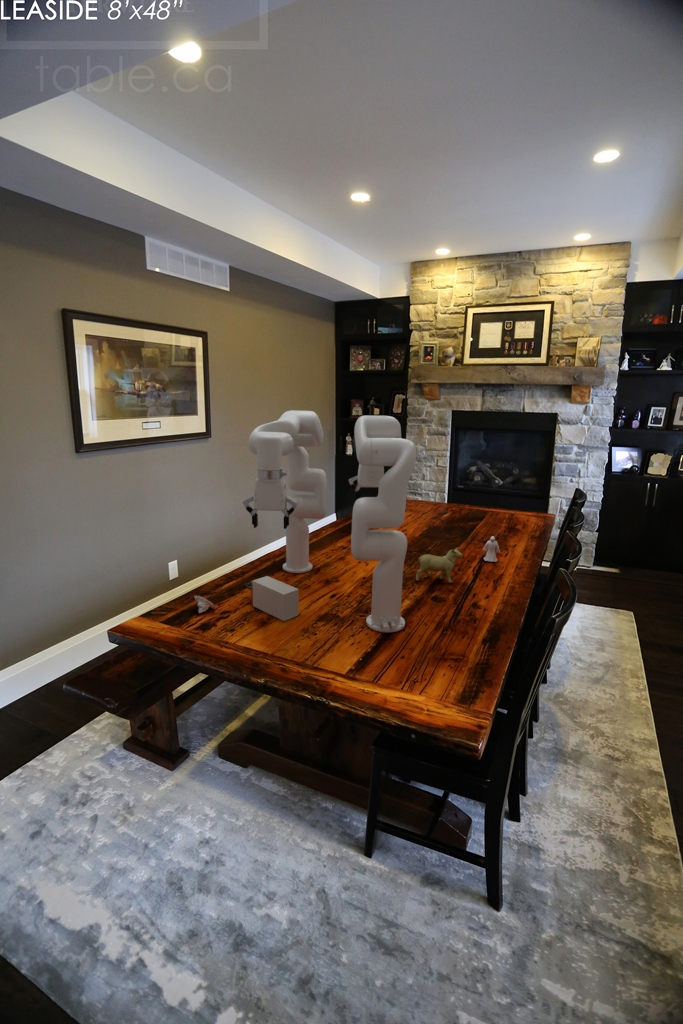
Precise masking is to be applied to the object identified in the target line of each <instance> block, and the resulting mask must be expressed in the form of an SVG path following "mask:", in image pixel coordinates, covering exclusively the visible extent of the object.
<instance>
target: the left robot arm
mask: <svg viewBox="0 0 683 1024" xmlns="http://www.w3.org/2000/svg"><path fill="white" fill-rule="evenodd" d="M320 419H321V418H319V415H318V414H317V413H316V412H315V411H312V410H295V409H294V410H287V411H285V412H283V413H282V414H281V415H280V417H279V418H278V419H277V420H275V421H271V422H269V423H267V422H266V423H264V424H261V425H259V426H256V427H255V428H254V429H253V430H252V432H251V433H250V435H249V438H248V443H247V444H248V449H249V451H250V453H252V454H253V455H254V456H255V455H256V456H257V477H256V478H255V480H254V481H255V482H254V490H253V496H251V497H249V498H247V499H245V500H243V501H242V505H243V506H244V508H245V510H246V511H247V512H248V513H249V514H250V516H251V525H253V529H256V528H257V527H258V525H259V515H258V511H269V512H270V511H271V512H281V513H282V514H283V515H284V516H283V529H284V530H285V551H286V552H285V554H286V555H285V563H283V564H282V570H283V571H285V572H287V573H291V574H303V573H307V572H310V571H311V570H313V567H314V566H313V564H312V562H310V527H309V524H308V522H307V521H306V520H305V519H310V520H311V519H313V520H315V519H316V520H319V519H324V517H325V516H326V514H327V504H328V503H327V501H328V500H327V499H328V498H327V497H328V477H327V473H326V472H325V470H324V469H323V468H310V456H309V453H308V451H307V450H306V448H318V447H319V448H320V447H321V446H322V445H323V443H324V438H325V437H324V436H325V434H324V430H323V426H322V422H321V420H320ZM286 456H287V470H286V471H285V470H284V469H283V457H286ZM284 477H287V484H286V479H285V478H284ZM287 487H288V489H289V490H291V491H292V492H305V493H314V495H313V494H290V495H288V494H287V493H288V491H287ZM252 502H253V507H252V506H251V505H250V503H252Z"/></svg>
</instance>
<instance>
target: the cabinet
mask: <svg viewBox="0 0 683 1024" xmlns="http://www.w3.org/2000/svg"><path fill="white" fill-rule="evenodd" d="M251 581H252V584H253V602H252V606H253V607H254V608H256V609H258V610H260V611H263V612H265V613H266V614H269V615H270V616H273V617H275V618H277V619H279V620H281V621H282V622H287V621H288V620H290V619H292V618H295V617H297V616H299V615H300V611H299V610H300V608H299V606H300V604H299V603H300V601H299V599H300V596H299V594H300V593H299V590H300V589H299V588H298V587H295V586H292V585H290V584H288V583H286V582H283V581H280V580H278V579H276V578H273V577H272V576H271V577H270V576H268V575H265V576H263V577H260V578H256V579H253V580H251Z"/></svg>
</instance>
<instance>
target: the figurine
mask: <svg viewBox="0 0 683 1024" xmlns="http://www.w3.org/2000/svg"><path fill="white" fill-rule="evenodd" d="M482 551H483V552H486V554H485V556H484V557H483V560H484V561H485V562H495V563H498V558H497V554H496V553H498V554H499V553H501V550H500V547H499V543H498V541H497V540H496V538H495V536H493V535H492V536H490V539H489V540H487V542H486V543H485V544H484V546H483V548H482Z"/></svg>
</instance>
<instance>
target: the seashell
mask: <svg viewBox="0 0 683 1024" xmlns="http://www.w3.org/2000/svg"><path fill="white" fill-rule="evenodd" d="M193 598H194V601H195V602H196V603H197V605H196V606H197V607H198V609H197V610H198V611H197V612H198V614H201V613H205V612H206V611H207V610H209V608H210V609H213V610H216V609H217V607H216V604H214V603H213V601H210V600H209V599H207V598H206V597H204V596H201V595H194V596H193Z"/></svg>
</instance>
